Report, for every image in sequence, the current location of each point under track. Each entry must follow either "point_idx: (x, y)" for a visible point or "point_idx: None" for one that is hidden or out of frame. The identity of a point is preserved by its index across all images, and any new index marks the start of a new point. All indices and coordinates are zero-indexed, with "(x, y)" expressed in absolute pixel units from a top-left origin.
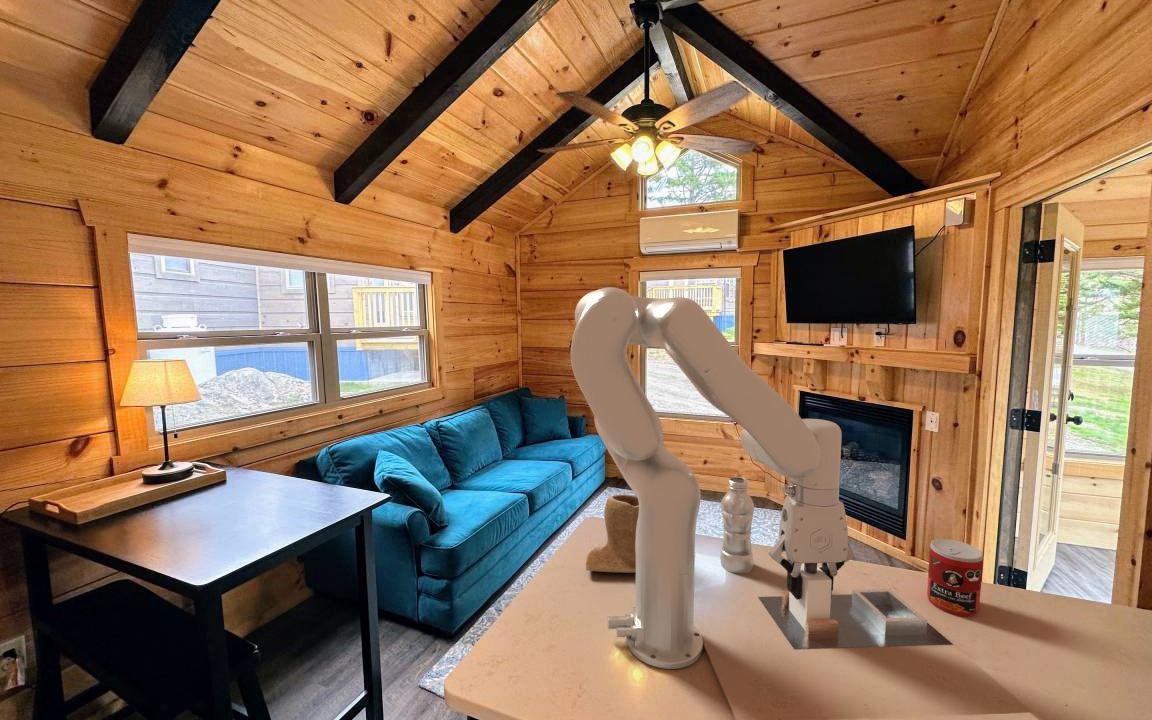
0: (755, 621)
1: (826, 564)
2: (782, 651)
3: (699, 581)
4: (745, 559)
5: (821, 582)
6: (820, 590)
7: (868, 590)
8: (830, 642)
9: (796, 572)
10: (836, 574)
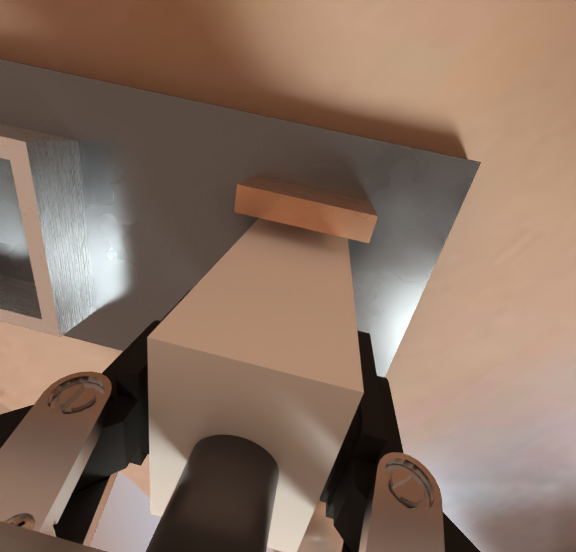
0: (443, 340)
1: (80, 477)
2: (486, 194)
3: (455, 504)
4: (319, 542)
5: (243, 347)
6: (265, 310)
7: (6, 317)
8: (302, 159)
9: (387, 492)
10: (67, 378)
